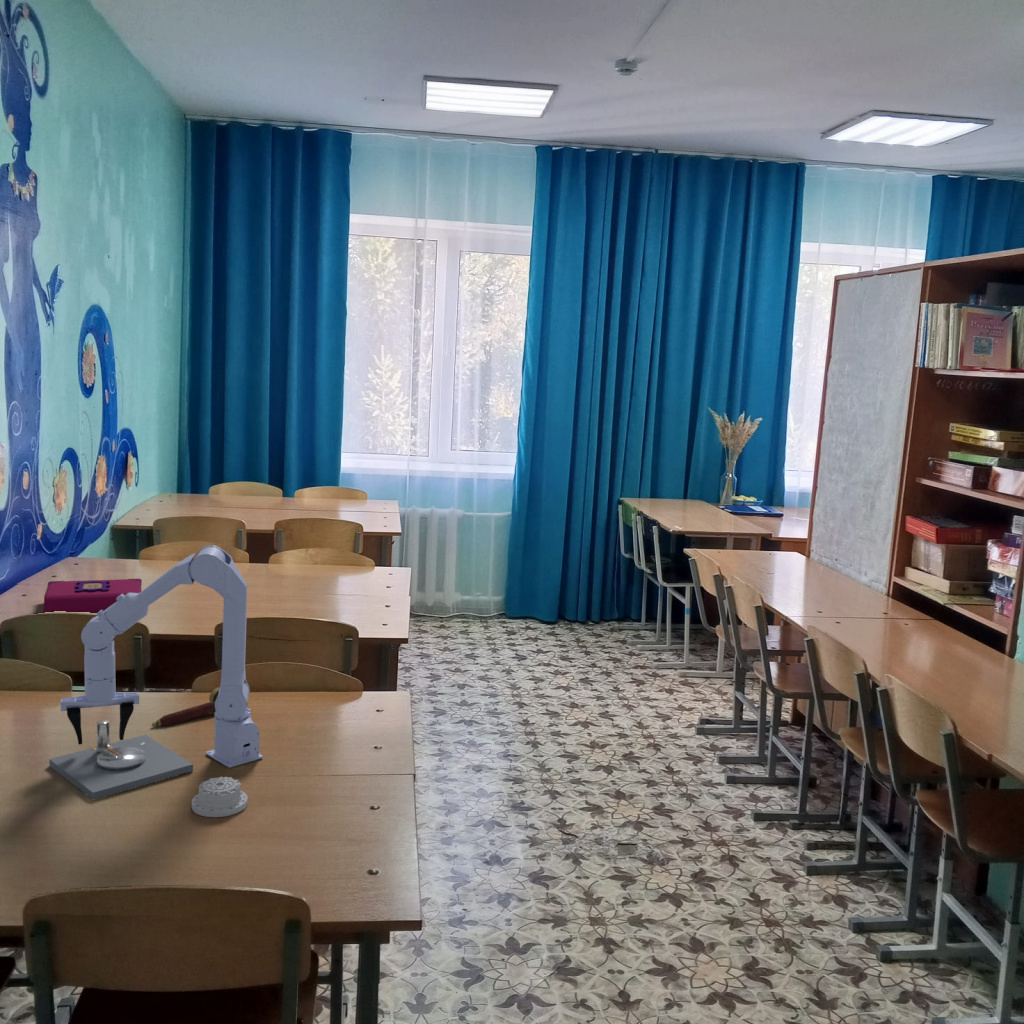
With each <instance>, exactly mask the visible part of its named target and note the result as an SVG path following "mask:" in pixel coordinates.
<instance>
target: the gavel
mask: <svg viewBox="0 0 1024 1024" xmlns="http://www.w3.org/2000/svg"><path fill="white" fill-rule="evenodd" d="M219 688H220V686H219V687H215V688H214V689H212V691H211V692H210V695H209V699H208V700H209V702H204V703H201V704H199V705H196V706H192V707H188V708H186V709H182V710H179V711H176V712H173V713H169V714H166V715H165V714H164V715H163V716H162V717H160V718H159V719H156V721H154V722H152V723H151V726H152V728H155V727H158V728H160V727H162V726H163V727H169V725H170V726H172V724H174V725H177V724H180V723H179V722H181V723H183V721H184V722H186V720H187V721H190V720H189V719H191V720H193V718H194V719H196V717H197V718H200V717H203V715H204V716H205V715H207V716H208V715H209V714H213V713H215V711H216V710H215V701H216V699H217V697H218V694H219ZM247 706H248V707H249V704H248V702H247ZM176 723H177V724H176Z"/></svg>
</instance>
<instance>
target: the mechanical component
mask: <svg viewBox="0 0 1024 1024" xmlns="http://www.w3.org/2000/svg"><path fill="white" fill-rule="evenodd" d="M241 786H242V783H241V782H240V780H239V779H234V778H233V777H232V776H229V777H228V776H224V777H223V776H219V777H210V778H209V779H207V780H206V781H204V780H203V781H202V782H201V783H199V785H198V793H197V794H196V795H194V797H192V799H191V810H192V811H193V812H194V813H195V814H196V815H199V816H202V817H206V818H207V817H208V818H222V817H229V816H233V815H235V814H236V815H237V814H238V813H240V812H242V811H244V810H245V809H246V808H247V806H248V801H249V799H248V794H247V793H246V792H244V791H243V790H242V789H241Z"/></svg>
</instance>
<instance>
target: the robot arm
mask: <svg viewBox="0 0 1024 1024" xmlns="http://www.w3.org/2000/svg"><path fill="white" fill-rule="evenodd" d="M194 557H195V558H194ZM195 582H196V583H198V584H200V585H202V586H204V587H208V588H210V589H211V590H214V591H215V592H216V593H217V594H219V595H220V596H221V597H222V598H223V610H222V611H223V612H222V615H223V618H222V647H221V649H222V650H221V673H220V674H221V676H220V686H219V687H220V688H219V694H218V697H217V699H216V701H215V710H216V711H214V733H213V734H214V739H213V741H214V745H213V746H214V749H211V750H207V751H205V754H206V755H207V756H209V757H210V758H212V759H214V760H215V761H217V762H218V763H221V764H222V765H223V766H225V767H227V768H233V767H238V766H241V765H243V764H248V763H251V762H253V761H257V759H258V760H260V758H261V759H262V758H263V757H264V756H263V755H262V754H261V753H260V730H259V727H258V725H257V724H256V723H255V722H254V721H253V719H252V716H251V713H252V712H251V711H252V709H250V708H249V705H248V706H247V703H248V700H249V696H250V693H251V691H250V685H249V683H248V681H247V679H246V651H247V649H246V646H247V644H246V643H247V620H248V619H247V613H248V611H247V610H248V583H247V581H246V580H245V578H244V577H243V575H242V573H241V572H240V570H239V568H238V567H237V565H236V564H235V562H234V560H233V557H232V556H231V555H230V554H229V553H228V552H227V551H225V550H224V549H222V548H221V547H220V546H216V545H205V546H204V547H201V548H200V549H199V550H198V551H197V553H195V552H194V553H192V554H190V555H188V556H187V557H185V558H183V559H182V560H180V561H179V562H177V563H176V564H174V565H173V566H172V567H171V568H169V569H168V570H167V571H166V572H164V573H163V574H161V576H159V577H157V578H156V579H155V580H154V581H153V582H152V583H150V584H149V585H148V586H146V587H145V588H144V589H142V590H141V592H140V593H127V594H126V595H125V596H124V595H123V594H121V595H120V596H118V597H117V598H116V600H117V602H115V603H114V604H113V605H111V606H110V607H108V608H107V609H106V610H104V611H103V610H100V611H99V612H98V613H97V615H95V616H93V617H92V618H91V619H90V620H89V621H88V622H87V624H86V625H85V626H84V627H83V629H82V631H81V634H80V640H81V643H82V644H83V645H84V656H83V658H84V659H83V661H84V663H83V665H84V666H83V667H84V694H83V695H77V696H73V697H65V698H61V699H60V711H61V712H66V716H67V718H68V720H69V722H70V724H71V725H72V727H73V730H74V731H75V734H76V737H77V741H78V743H77V744H78V745H83V734H82V718H81V717H82V713H81V709H89V708H99V707H111V706H118V705H119V731H118V738H119V741H123V740H125V739H124V736H125V732H126V728H127V725H128V722H129V720H130V718H131V716H132V714H133V713H134V709H135V708H134V705H140V693H139V691H135V692H134V691H132V692H121V691H120V692H119V691H116V686H117V685H116V652H115V640H114V639H115V638H116V637H117V635H122V634H123V633H125V632H126V631H128V629H130V628H131V627H133V626H134V625H135V624H137V623H138V622H140V621H141V620H142V619H143V618H145V617H147V615H148V611H149V606H150V605H152V604H153V603H155V602H156V601H158V600H159V599H160V598H162V597H163V596H164V595H166V594H168V593H169V592H170V591H172V590H174V589H175V588H176V587H178V586H180V585H193V584H194V583H195Z"/></svg>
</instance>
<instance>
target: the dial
mask: <svg viewBox="0 0 1024 1024" xmlns="http://www.w3.org/2000/svg"><path fill="white" fill-rule="evenodd" d="M110 727H111V726H110V721H109V720H106V719H105V720H103V719H102V720H98V721H96V746H95V747H96V751H98V752H100V754H99V755H98V756H97V765H98V766H99V767H100V768H103V769H107V770H123V769H129V768H133V767H136V766H138V765H140V764H142V763H143V762H144V761H145V752H144V751H143V750H142V749H139V748H134V747H120V748H113V747H112V746H110V744H111V741H110V740H111V737H110Z"/></svg>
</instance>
